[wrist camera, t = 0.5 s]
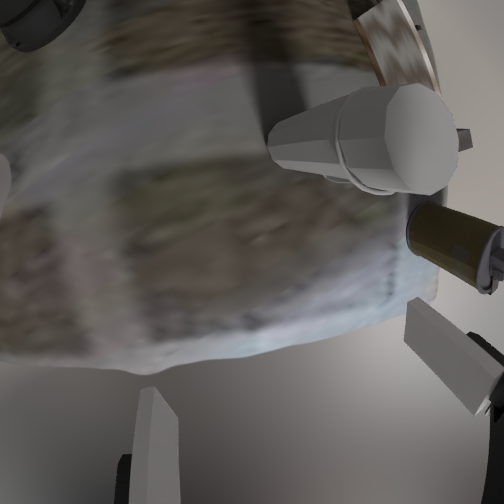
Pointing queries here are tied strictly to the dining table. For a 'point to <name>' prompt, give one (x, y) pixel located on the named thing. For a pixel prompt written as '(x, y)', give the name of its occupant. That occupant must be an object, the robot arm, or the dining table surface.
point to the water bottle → (373, 140)
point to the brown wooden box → (399, 51)
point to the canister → (458, 244)
